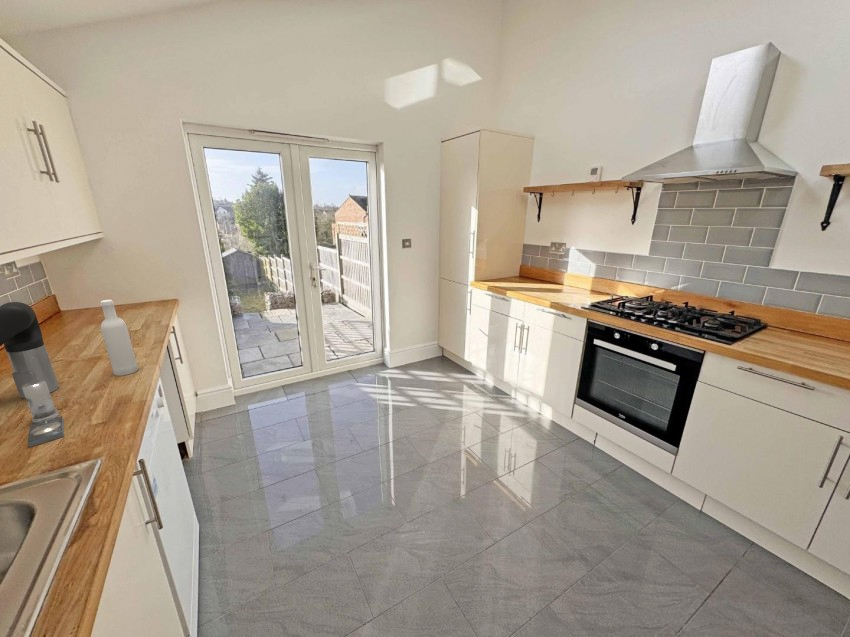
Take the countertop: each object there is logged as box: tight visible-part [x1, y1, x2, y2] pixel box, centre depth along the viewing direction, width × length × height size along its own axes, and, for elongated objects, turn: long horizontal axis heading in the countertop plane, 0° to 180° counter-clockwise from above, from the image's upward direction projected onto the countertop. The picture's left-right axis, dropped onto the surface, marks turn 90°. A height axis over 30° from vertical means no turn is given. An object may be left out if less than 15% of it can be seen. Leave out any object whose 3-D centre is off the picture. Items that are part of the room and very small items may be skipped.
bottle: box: [100, 299, 139, 377], centre depth 143 cm, size 8×8×30 cm
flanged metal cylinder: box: [21, 380, 60, 424], centre depth 114 cm, size 6×6×12 cm
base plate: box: [27, 415, 65, 448], centre depth 107 cm, size 12×7×2 cm, turn 44°
